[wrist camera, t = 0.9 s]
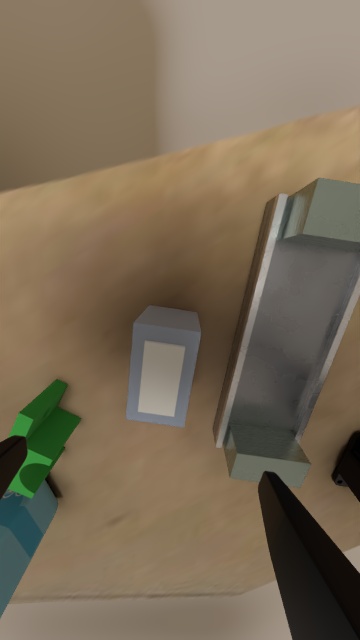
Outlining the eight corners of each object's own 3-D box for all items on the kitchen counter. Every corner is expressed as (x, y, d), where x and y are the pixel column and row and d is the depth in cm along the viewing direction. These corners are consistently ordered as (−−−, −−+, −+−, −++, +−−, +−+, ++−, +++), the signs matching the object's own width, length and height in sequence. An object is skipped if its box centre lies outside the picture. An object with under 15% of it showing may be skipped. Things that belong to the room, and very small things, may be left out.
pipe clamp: (54, 467, 22) (21, 518, 18) (23, 453, 22) (-20, 502, 17) (93, 395, 19) (65, 436, 15) (57, 377, 19) (17, 414, 14)
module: (197, 311, 16) (201, 333, 11) (184, 384, 18) (183, 430, 13) (149, 304, 16) (132, 323, 11) (141, 377, 18) (124, 422, 13)
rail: (365, 217, 14) (446, 197, 9) (282, 438, 19) (309, 489, 15) (266, 202, 14) (303, 175, 9) (212, 429, 19) (220, 476, 15)
